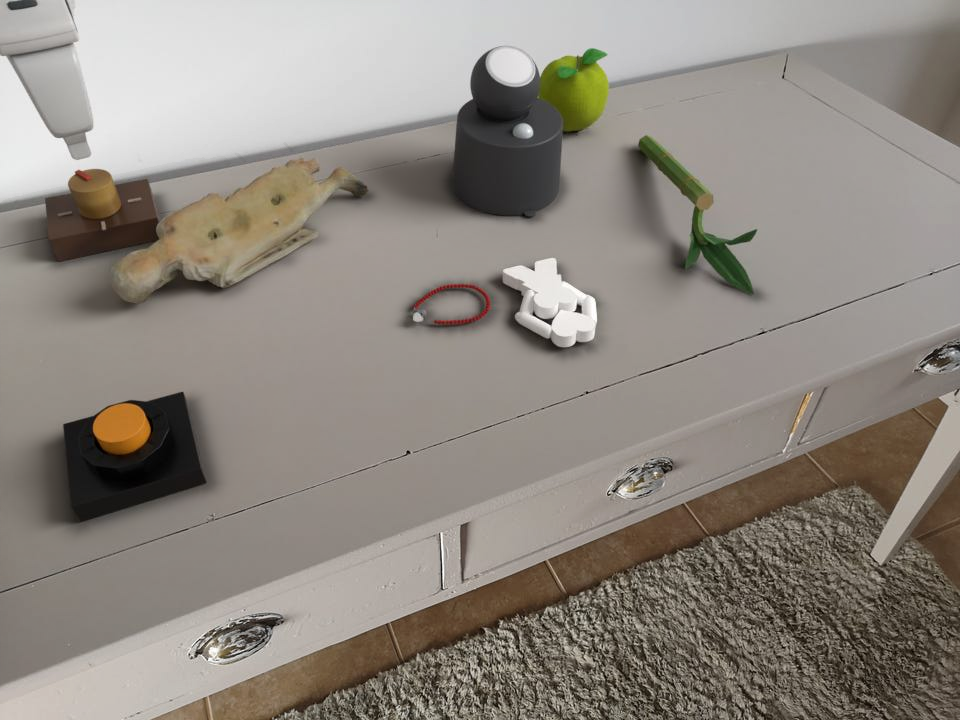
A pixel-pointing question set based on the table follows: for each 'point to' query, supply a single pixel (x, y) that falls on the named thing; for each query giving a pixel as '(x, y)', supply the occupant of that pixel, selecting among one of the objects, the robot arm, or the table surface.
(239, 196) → the statue
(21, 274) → the table surface
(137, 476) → the switch box
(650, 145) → the decorative plant
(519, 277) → the white abstract figurine
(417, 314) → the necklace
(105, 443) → the light button
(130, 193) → the dimmer panel
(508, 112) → the light fixture
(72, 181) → the dimmer knob
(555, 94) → the fruit
